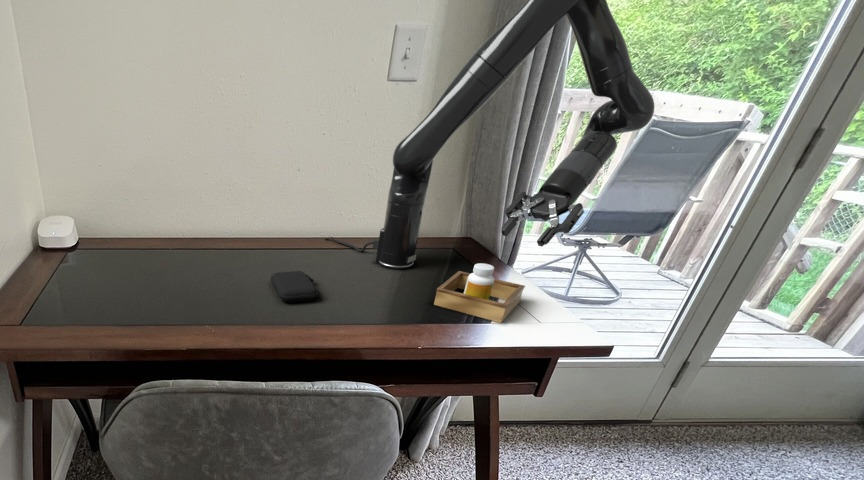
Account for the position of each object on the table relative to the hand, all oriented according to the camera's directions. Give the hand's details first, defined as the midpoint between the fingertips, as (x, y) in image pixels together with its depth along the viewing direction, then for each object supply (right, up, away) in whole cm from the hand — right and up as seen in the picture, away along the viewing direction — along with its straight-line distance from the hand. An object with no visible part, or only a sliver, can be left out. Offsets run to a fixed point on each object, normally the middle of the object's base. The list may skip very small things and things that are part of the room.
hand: (520, 239), depth 106 cm
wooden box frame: (-7, -14, +5) cm, 16 cm away
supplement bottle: (-9, -15, +4) cm, 18 cm away
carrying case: (-49, -10, +14) cm, 51 cm away
